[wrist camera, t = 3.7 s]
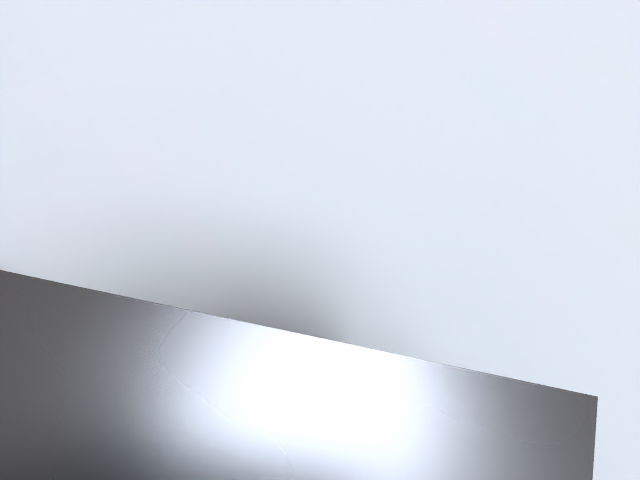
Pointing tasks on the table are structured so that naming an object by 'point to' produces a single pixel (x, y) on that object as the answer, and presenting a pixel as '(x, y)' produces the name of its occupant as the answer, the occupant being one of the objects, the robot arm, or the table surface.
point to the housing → (254, 402)
